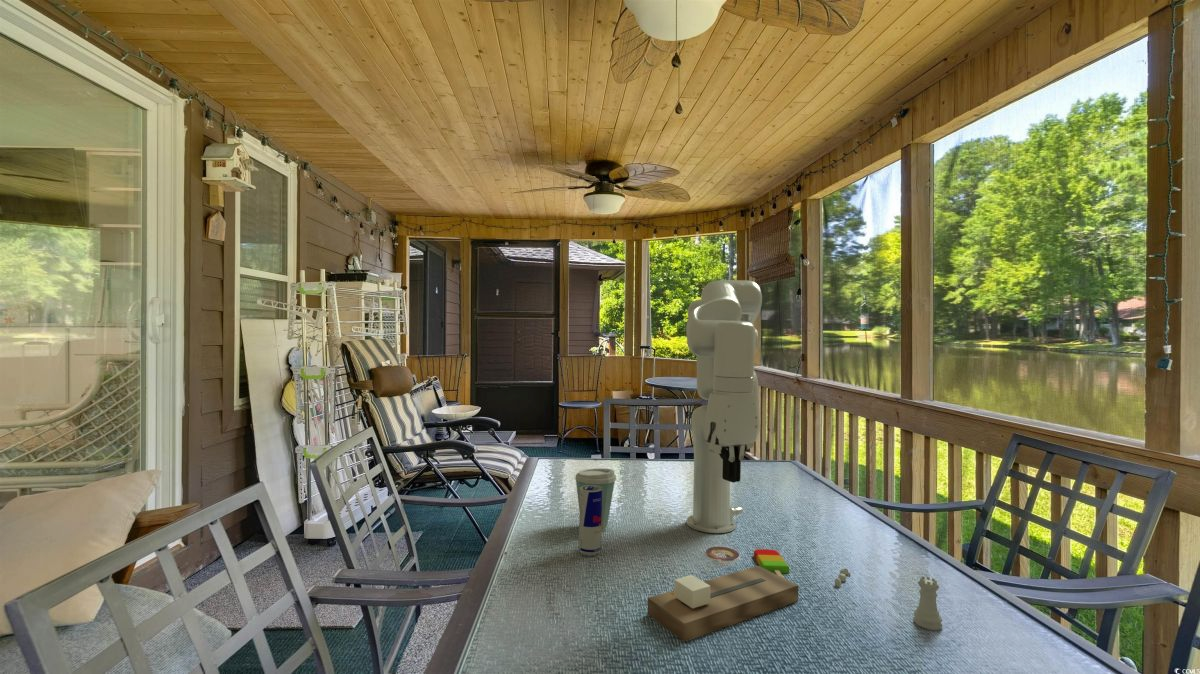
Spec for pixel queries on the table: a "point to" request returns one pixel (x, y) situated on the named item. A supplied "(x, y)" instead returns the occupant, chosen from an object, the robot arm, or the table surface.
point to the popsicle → (771, 561)
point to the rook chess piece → (928, 605)
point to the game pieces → (841, 577)
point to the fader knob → (692, 591)
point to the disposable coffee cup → (604, 480)
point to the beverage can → (590, 519)
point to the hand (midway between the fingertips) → (731, 480)
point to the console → (724, 603)
